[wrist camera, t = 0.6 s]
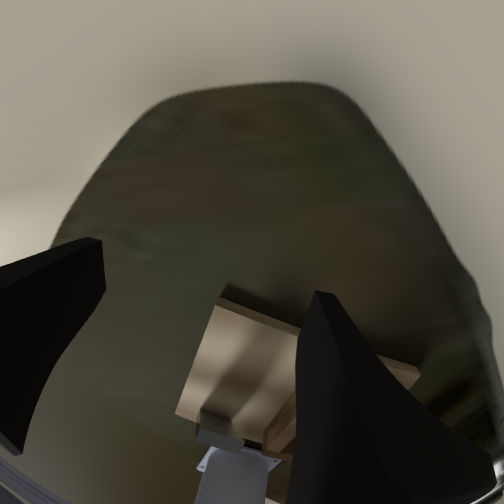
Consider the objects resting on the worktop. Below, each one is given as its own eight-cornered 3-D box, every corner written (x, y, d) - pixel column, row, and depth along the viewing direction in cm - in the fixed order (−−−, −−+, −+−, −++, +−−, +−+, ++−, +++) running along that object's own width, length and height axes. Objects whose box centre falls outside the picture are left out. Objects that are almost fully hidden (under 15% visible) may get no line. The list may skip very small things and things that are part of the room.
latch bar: (230, 419, 24) (226, 428, 24) (199, 408, 24) (196, 417, 24) (244, 442, 16) (239, 454, 16) (200, 427, 16) (195, 440, 16)
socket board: (335, 450, 27) (337, 480, 23) (178, 405, 26) (165, 436, 22) (416, 366, 22) (431, 399, 18) (219, 296, 21) (204, 329, 17)
